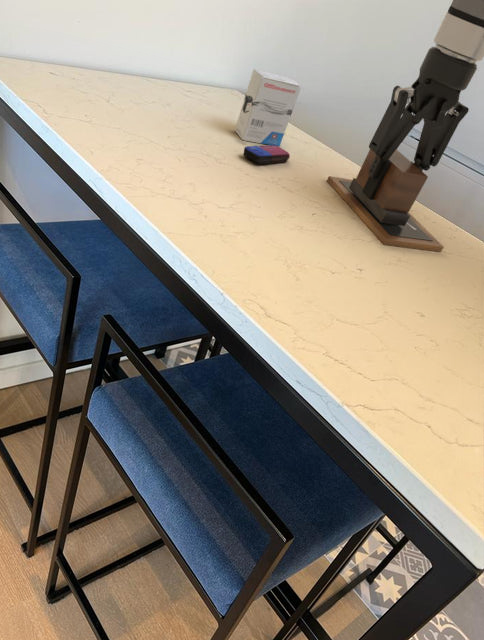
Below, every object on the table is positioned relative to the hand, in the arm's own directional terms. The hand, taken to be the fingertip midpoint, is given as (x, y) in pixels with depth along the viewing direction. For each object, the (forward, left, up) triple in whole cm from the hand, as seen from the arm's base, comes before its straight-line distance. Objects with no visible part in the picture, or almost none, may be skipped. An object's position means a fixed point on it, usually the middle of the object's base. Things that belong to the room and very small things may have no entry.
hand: (382, 197), depth 98 cm
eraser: (+17, +15, -4) cm, 23 cm away
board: (+1, -2, -3) cm, 4 cm away
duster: (0, 0, -2) cm, 2 cm away
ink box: (+27, +13, -4) cm, 30 cm away
